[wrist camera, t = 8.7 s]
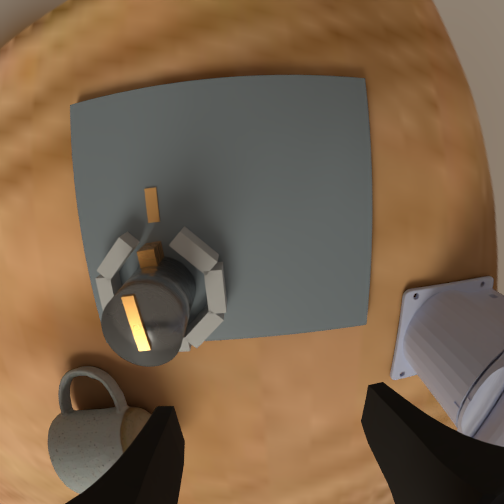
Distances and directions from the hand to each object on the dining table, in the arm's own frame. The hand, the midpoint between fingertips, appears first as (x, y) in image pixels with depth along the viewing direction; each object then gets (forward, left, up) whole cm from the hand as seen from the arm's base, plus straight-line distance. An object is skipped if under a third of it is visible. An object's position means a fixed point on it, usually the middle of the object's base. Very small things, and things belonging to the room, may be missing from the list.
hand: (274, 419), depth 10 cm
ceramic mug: (+13, +10, -11) cm, 20 cm away
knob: (+6, -2, -10) cm, 11 cm away
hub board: (+2, -6, -10) cm, 12 cm away
